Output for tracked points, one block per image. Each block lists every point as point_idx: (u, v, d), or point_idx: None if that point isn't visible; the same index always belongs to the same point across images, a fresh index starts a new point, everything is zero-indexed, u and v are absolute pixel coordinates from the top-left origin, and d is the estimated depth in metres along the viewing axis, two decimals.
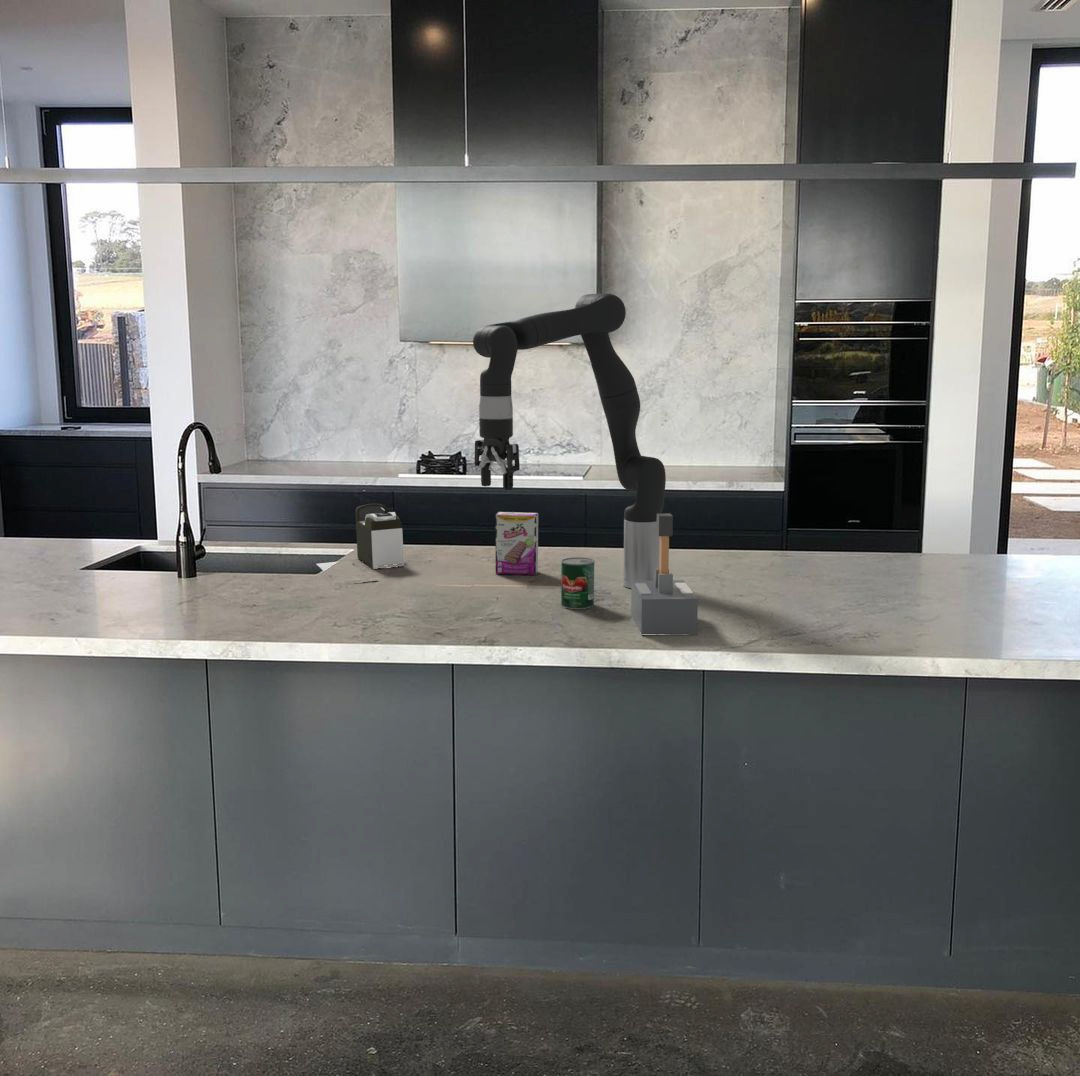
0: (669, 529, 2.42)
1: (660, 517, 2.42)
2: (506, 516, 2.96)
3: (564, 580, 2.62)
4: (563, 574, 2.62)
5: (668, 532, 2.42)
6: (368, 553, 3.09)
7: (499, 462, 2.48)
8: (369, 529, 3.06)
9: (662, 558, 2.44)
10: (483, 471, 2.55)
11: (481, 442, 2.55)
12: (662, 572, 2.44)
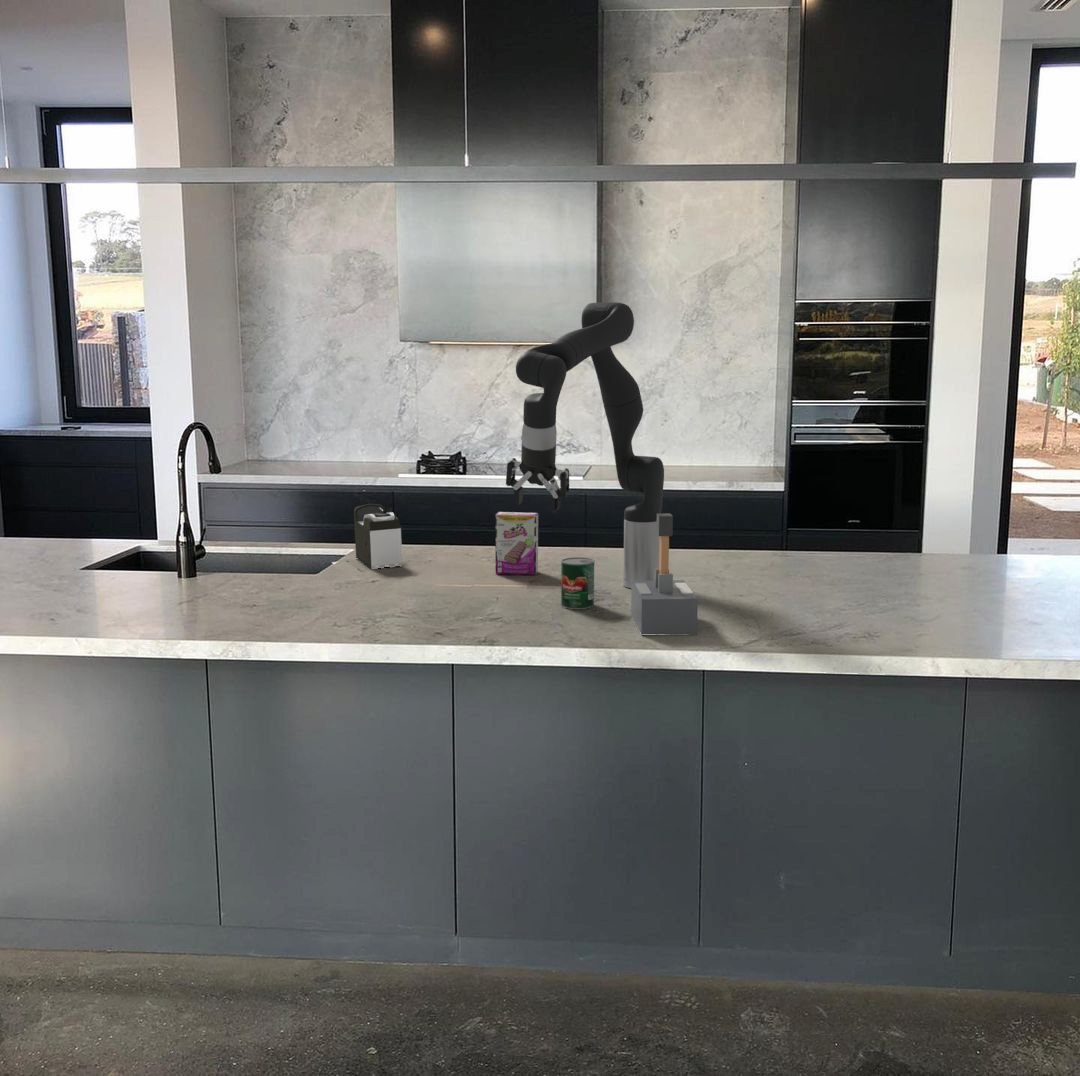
0: (669, 529, 2.42)
1: (660, 517, 2.42)
2: (506, 516, 2.96)
3: (564, 580, 2.62)
4: (563, 574, 2.62)
5: (668, 532, 2.42)
6: (367, 553, 3.09)
7: (549, 488, 2.45)
8: (368, 529, 3.06)
9: (662, 558, 2.44)
10: (519, 491, 2.49)
11: (515, 463, 2.46)
12: (662, 572, 2.44)
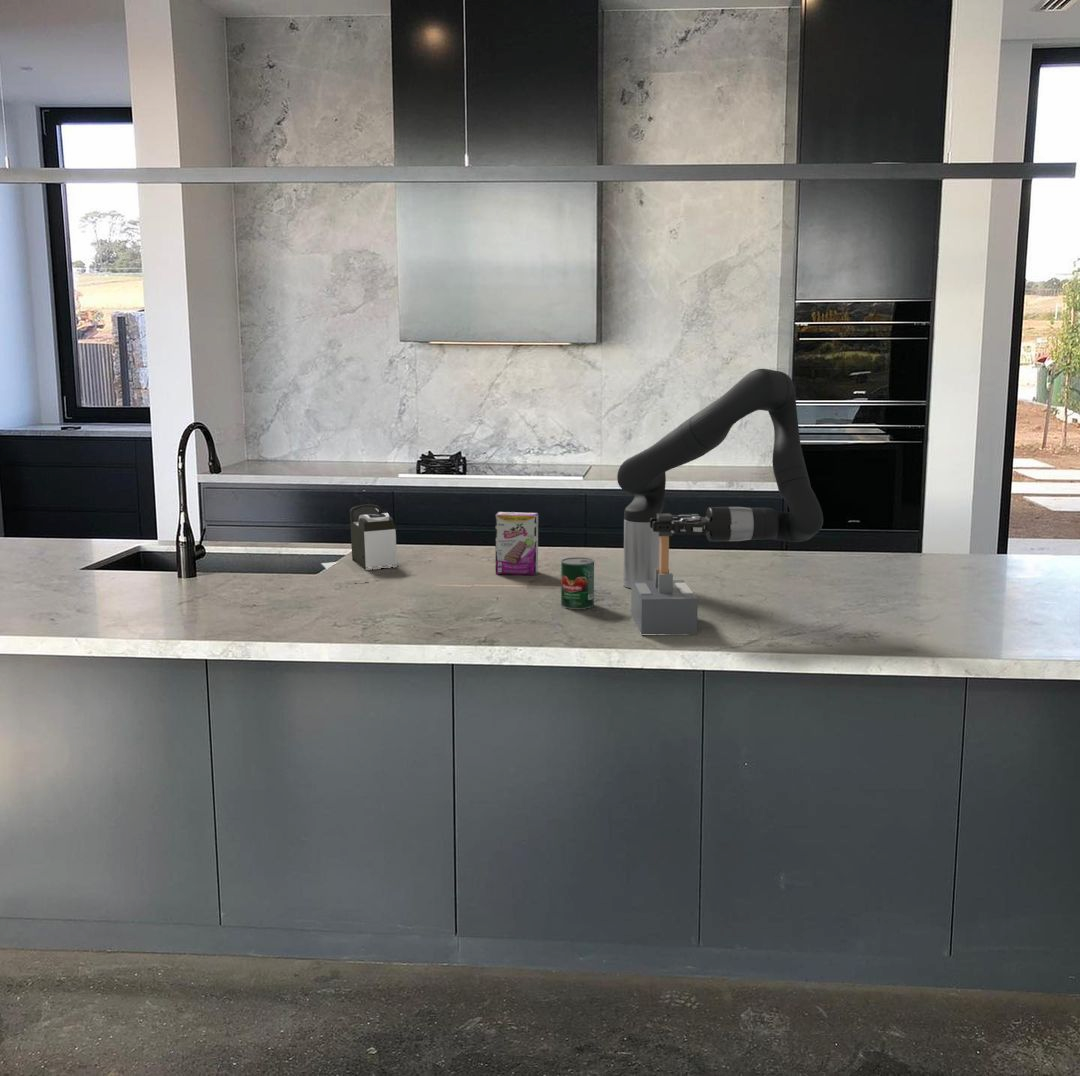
0: None
1: (660, 517, 2.42)
2: (506, 516, 2.96)
3: (564, 580, 2.62)
4: (563, 574, 2.62)
5: (668, 532, 2.42)
6: (361, 554, 3.08)
7: None
8: (362, 530, 3.05)
9: (662, 558, 2.44)
10: None
11: None
12: (662, 572, 2.44)
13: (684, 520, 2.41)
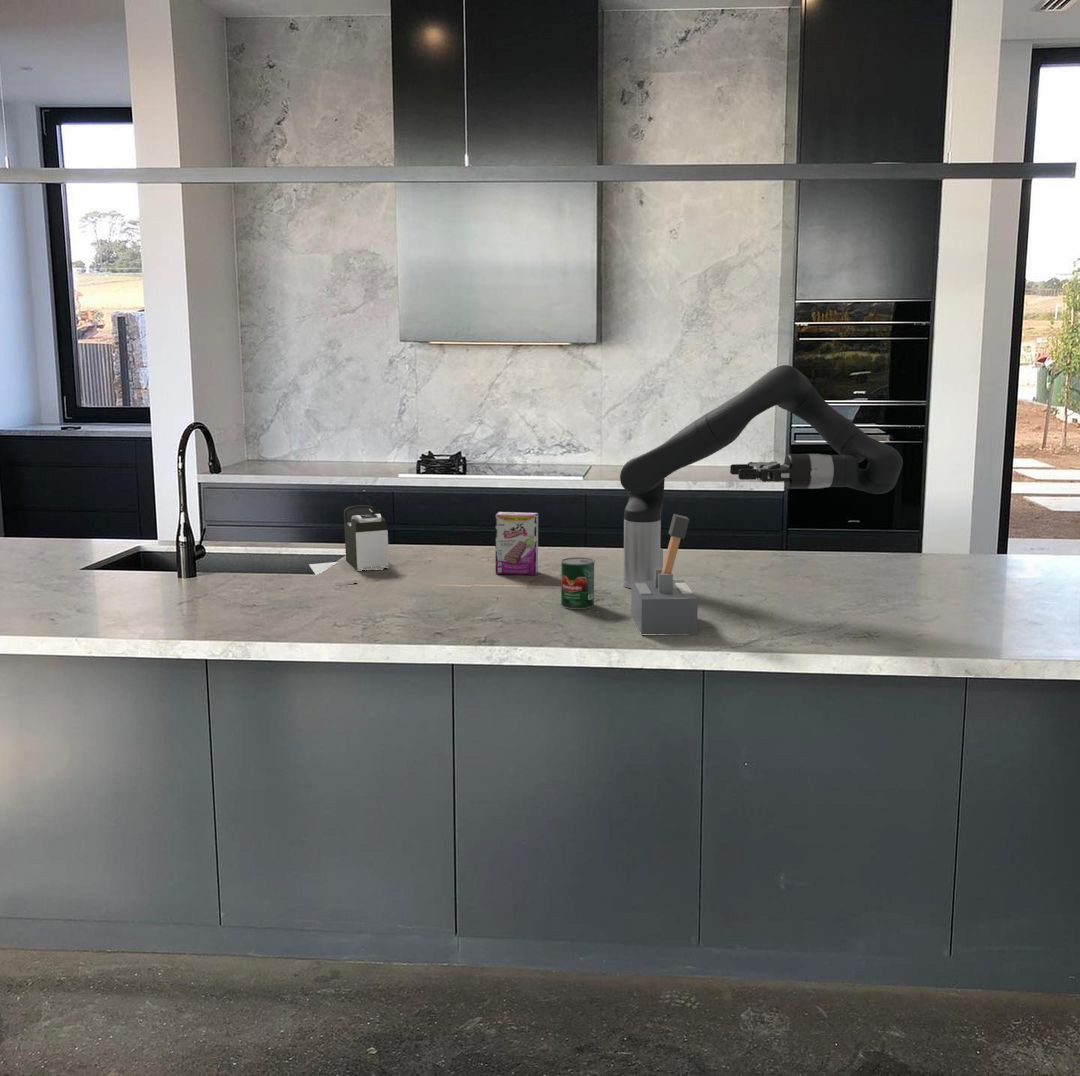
0: (682, 531, 2.43)
1: (677, 518, 2.42)
2: (506, 516, 2.96)
3: (564, 580, 2.62)
4: (563, 574, 2.62)
5: (681, 534, 2.43)
6: (353, 555, 3.07)
7: None
8: (354, 531, 3.04)
9: (668, 558, 2.44)
10: None
11: None
12: (665, 572, 2.44)
13: (769, 467, 2.39)
